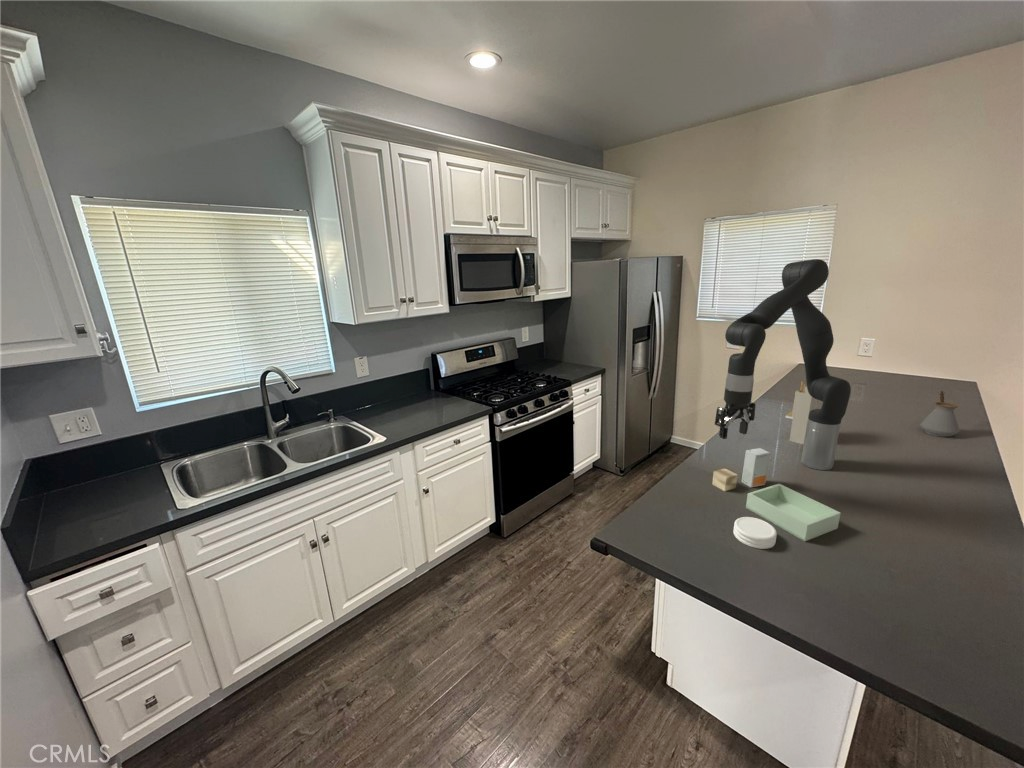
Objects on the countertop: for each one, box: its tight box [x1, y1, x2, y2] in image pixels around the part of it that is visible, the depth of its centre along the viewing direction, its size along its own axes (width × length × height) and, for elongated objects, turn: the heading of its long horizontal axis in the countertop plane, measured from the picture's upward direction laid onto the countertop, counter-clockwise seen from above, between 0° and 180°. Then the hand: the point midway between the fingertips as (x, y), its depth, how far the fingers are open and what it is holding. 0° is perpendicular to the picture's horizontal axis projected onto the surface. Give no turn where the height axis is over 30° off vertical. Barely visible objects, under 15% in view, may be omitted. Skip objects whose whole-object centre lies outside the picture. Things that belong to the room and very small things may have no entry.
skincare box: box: [741, 447, 771, 488], centre depth 135 cm, size 6×4×12 cm
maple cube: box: [711, 468, 738, 492], centre depth 136 cm, size 5×5×5 cm
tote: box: [745, 483, 842, 542], centre depth 117 cm, size 14×18×5 cm
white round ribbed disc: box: [732, 516, 778, 550], centre depth 110 cm, size 10×10×4 cm
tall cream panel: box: [785, 381, 819, 445], centre depth 168 cm, size 8×12×26 cm
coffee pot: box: [919, 390, 961, 438], centre depth 172 cm, size 21×12×15 cm, turn 140°
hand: (732, 435), depth 130 cm, fingers open, 8 cm apart
